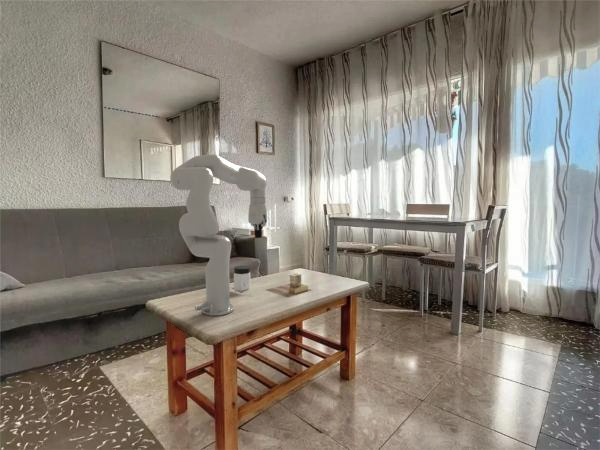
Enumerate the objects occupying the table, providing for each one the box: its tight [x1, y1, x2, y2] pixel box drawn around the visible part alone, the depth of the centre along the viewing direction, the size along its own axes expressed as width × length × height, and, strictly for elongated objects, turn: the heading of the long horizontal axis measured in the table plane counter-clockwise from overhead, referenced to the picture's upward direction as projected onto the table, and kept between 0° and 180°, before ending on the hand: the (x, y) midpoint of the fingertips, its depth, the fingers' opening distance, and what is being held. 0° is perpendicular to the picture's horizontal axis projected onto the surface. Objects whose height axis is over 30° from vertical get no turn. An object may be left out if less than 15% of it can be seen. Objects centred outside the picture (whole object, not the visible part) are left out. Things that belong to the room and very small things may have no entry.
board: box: [265, 283, 313, 298], centre depth 155 cm, size 17×17×1 cm
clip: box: [289, 283, 309, 294], centre depth 152 cm, size 9×4×2 cm, turn 134°
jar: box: [233, 265, 252, 294], centre depth 158 cm, size 9×8×12 cm
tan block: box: [289, 273, 302, 288], centre depth 153 cm, size 4×4×8 cm
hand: (258, 237), depth 157 cm, fingers closed
